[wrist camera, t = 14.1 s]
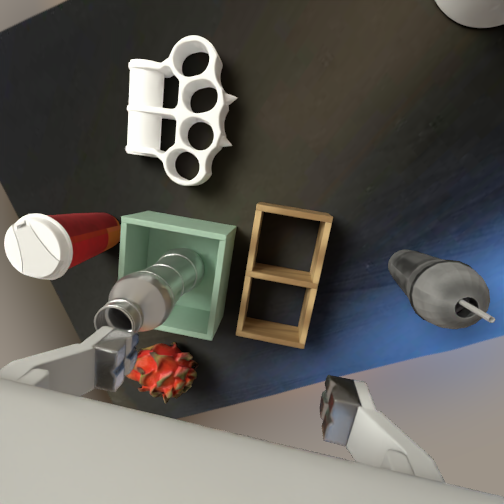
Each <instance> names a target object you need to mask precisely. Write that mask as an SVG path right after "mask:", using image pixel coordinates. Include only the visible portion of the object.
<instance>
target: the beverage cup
mask: <svg viewBox="0 0 504 504" xmlns="http://www.w3.org/2000/svg"><path fill="white" fill-rule="evenodd" d="M388 269H389V272H390V274H391V275H392V277H393V279H394V280H395V281H396V282H397V284H398V285H399V286H400V288H401V289H402V290H403V291H404V293H405V294H406V295H407V297H408V298H409V300H410V303H411V306H412V307H413V309H414V311H415V313H416V314H417V315H419V316H420V317H421V318H422V319H423V320H426V321H428V322H430V323H432V324H434V325H437V326H439V327H442V328H449V329H459V328H465V327H468V326H471V325H473V324H475V323H476V322H478V321H479V320H480V319H481V318H484V319H485V320H487V321H488V322H490V323H492V322H494V321H495V318H494V317H492V316H490V315H489V314H487V313H486V312H487V310H488V307H489V303H490V296H489V289H488V287H487V285H486V283H485V281H484V280H483V278H482V277H481V276H480V275H479V274H478V273H477V272H476V271H475V270H473V269H472V268H471V267H470V266H469V265H467V264H465V263H462V262H460V261H453V260H442V259H439V258H436V257H432V256H429V255H426V254H423V253H420V252H416V251H411V250H400V251H398V252H396V253H394V254H393V255H392V256H391V258H390V260H389V263H388Z"/></svg>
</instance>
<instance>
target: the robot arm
mask: <svg viewBox="0 0 504 504" xmlns="http://www.w3.org/2000/svg"><path fill="white" fill-rule="evenodd" d="M435 2H436V3H437V5H438V6H439V8H440V9H441V10H442V11H443V12H444V13H445V14H446V15H447V16H448V17H449V18H451V19H452V20H454V21H455V22H457V23H460V24H462V25H465V26H468V27H474V28H490V27H495V26H499V25H503V24H504V0H435ZM138 343H139V335H138V334H137V333H134V332H130V331H126V330H122V329H117V328H113V327H108V326H102V327H101V328H100V329H98V330H97V331H96V332H95V333H93V334H92V335H91V336H90V337H88V338H87V339H86V340H85V341H83V342H82V343H81V344H73V345H70V346H66V347H62V348H59V349H55V350H52V351H48V352H44V353H41V354H37V355H33V356H30V357H26V358H23V359H19V360H15V361H12V362H11V363H9V364H8V365H6V366H5V367H3V368H2V369H0V504H504V497H502V496H498V495H494V494H490V493H486V492H481V491H477V490H473V489H469V488H464V487H460V486H456V485H452V484H448V483H445V481H444V479H443V477H442V475H441V473H440V471H439V469H438V467H437V465H436V463H435V461H434V459H433V458H432V457H431V456H430V455H429V454H427V453H426V452H425V451H424V450H423V449H422V448H421V447H420V446H419V445H417V444H416V443H415V442H414V441H413V440H412V439H411V438H410V437H409V436H407V435H406V434H405V433H404V432H403V431H402V430H401V429H400V428H398V427H397V426H396V425H395V424H394V423H393V422H392V421H390V419H389V418H387V417H386V416H385V415H384V414H383V413H382V412H381V411H377V410H376V407H375V405H374V402H373V399H372V397H371V394H370V392H369V389H368V386H367V384H366V383H365V382H363V381H358V380H351V379H346V378H341V377H336V376H331V375H328V376H327V378H326V381H325V386H326V390H325V391H324V392H323V393H322V397H321V403H320V417H321V419H322V420H323V423H322V432H323V439H324V441H327V442H330V443H334V444H338V445H342V446H346V448H347V450H348V451H349V453H350V454H351V456H352V457H353V459H354V460H355V461H356V462H355V461H350V460H346V459H342V458H338V457H334V456H329V455H325V454H321V453H317V452H312V451H308V450H304V449H300V448H295V447H291V446H287V445H283V444H278V443H274V442H269V441H265V440H261V439H257V438H253V437H249V436H244V435H240V434H236V433H232V432H228V431H223V430H218V429H215V428H211V427H206V426H202V425H198V424H194V423H189V422H185V421H181V420H177V419H173V418H168V417H164V416H160V415H156V414H151V413H147V412H143V411H139V410H134V409H130V408H126V407H122V406H117V405H113V404H109V403H105V402H100V401H96V400H92V399H88V398H83V397H80V396H82V395H84V394H86V393H87V392H89V391H91V390H93V389H94V388H97V389H102V390H107V391H112V392H115V391H116V390H117V389H118V387H119V386H120V385H121V384H122V383H123V381H124V376H126V375H128V374H130V373H131V371H132V370H133V368H134V366H135V364H136V361H137V356H138V351H137V349H136V348H135V346H136V345H137V344H138Z"/></svg>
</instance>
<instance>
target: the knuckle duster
mask: <svg viewBox="0 0 504 504" xmlns="http://www.w3.org/2000/svg"><path fill="white" fill-rule="evenodd" d="M198 52H204V53H207V54H209V65H208V67H207V69H206V70H205V71H204V72H203V73H202V74H200V75H196V76H192V77H186V76H183V73H182V65H183V62H184V60H185V59H186V57H188V56H189V55H191V54H194V53H198ZM222 67H223V64H222V61H221V59H220V57H219V55H218V53H217V51H216V50H215V48H214V46H213V45H212V44H211V43H210V42H209V41H208V40H206V39H205V38H203V37H200V36H187V37H185V38H183V39H181V40H180V41H178V42H177V43H176V45H175V46H174V47H173V49H172V51H171V54H170V57H169V58H168V59H166V60H165V61H163V62H162V63H158V62H154V61H150V60H143V59H132V60H130V62H129V69H130V85H129V105H128V106H127V111H128V140H127V146H126V151H127V153H129V154H135V155H142V156H149V157H157V158H159V159H160V160H161V161H162V162H163V165H164V169H165V171H166V173H167V175H168V176H169V177H170V179H172V180H173V181H174V182H176V183H177V184H180V185H183V186H197V185H200V184H203V183H204V182H206V181H207V180H208V179H209V178H210V177H211V175H212V170H211V166H212V161H213V159H214V157H215V155H216V154H217V153H218V152H219V151H220V150H221V149H222V147H227V146H233V145H232V144H231V143H230V142H229V141H228V140H227V138H226V134H225V130H224V121H225V117H226V115H227V113H228V111H229V106H228V105H230V104H231V103H232V102H234V101H235V100H236V99H237V98H238V97H235V96H232V95H230V94H227V93H226V92H225V91H224V89H223V88H222V85H221V80H220V75H221V70H222ZM174 75H175V76H176V77H177V78H178V80H179V96H178V105H177V107H176V108H174V109H167V108H163V93H164V78H170V77H172V76H174ZM207 87H211V88H214V89H216V90H217V93H218V100H217V103H216V105H215V107H214V108H213V109H212V110H210V111H208V112H203V113H193V111H192V109H191V105H190V102H191V97H192V95H193V94H194V93H195V92H196V91H197V90H199V89H202V88H207ZM162 118H164V119H172V120H176V122H177V124H176V138H175V144H174V145H173V146H172V147H170V148H169V149H168V150H167V151H166V152H165V151H162V150H160V143H161V126H162ZM197 122H204V123H206V124H208V125H210V126H211V127H212V129H213V132H214V140H213V143H212V144H211V146H210V147H209V148H207V149H205V150H197V149H195V148H193V147H192V146H191V145H190V143H189V140H188V131H189V129H190V127H191V126H192V125H193V124H195V123H197ZM183 152H190V153H192V154H193V155H195V156H196V158H197V159H198V161H199V165H200V169H199V173H198V175H197V176H196V177H195V178H194V179H192V180H187V179H185V178H183V177H181V176H180V175H179V174H178V173H177V171H176V168H175V162H176V159H177V157H178V156H179V155H180V154H181V153H183Z"/></svg>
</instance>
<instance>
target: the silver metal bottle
mask: <svg viewBox="0 0 504 504" xmlns="http://www.w3.org/2000/svg"><path fill="white" fill-rule="evenodd" d="M203 275H204V264H203V261H202V259H201V258H200V256H199V255H198V254H197V253H195V252H194V251H192V250H190V249H187V248H176V249H172V250H169V251H167V252H166V253H165V254H163V255H162V256H161V257H160V259H159V260H158V261H157V262H156V263H155V264H154V265H153V266H151V267H148V268H146V269H144V270H140V271H137V272H133V273H130V274H128V275H126V276H124V277H122V278H120V279H119V280H118V281H117V282H116V284H115V285H114V287H113V288H112V290H111V292H110V294H109V300H108V303H107V304H105V306H104V307H102V308H101V309H100V310H99V311H98V312H97V314H96V315H95V318H94V325H95V329H96V331H97V330H98V329H100V328H101V327H102V326H108V327H113V328H117V329H122V330H126V331H130V332H134V333H137V332H138V331H139V332H142V331H148V330H152V329H154V328H156V327H158V326H160V325H162V324H163V323H164V322H165V321H166V319H167V318H168V317H169V315H170V314H171V312H172V310H173V308H174V306H175V304H176V302H177V301H178V300H179V299H180V297H181V296H182V295H184V294H185V293H187V292H189V291H191V290H193V289H194V288H196V287H197V286H198V285H199V284H200V282H201V280H202V278H203Z"/></svg>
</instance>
